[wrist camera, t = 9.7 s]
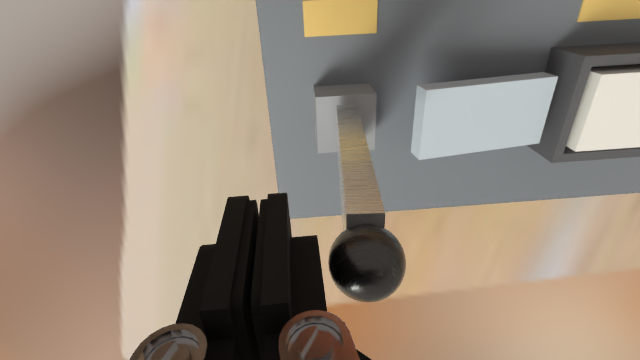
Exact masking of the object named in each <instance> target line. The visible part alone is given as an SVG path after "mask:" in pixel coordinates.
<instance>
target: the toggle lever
mask: <svg viewBox="0 0 640 360" xmlns="http://www.w3.org/2000/svg"><path fill="white" fill-rule="evenodd" d="M336 115H337V155H338V168H339V182H340V196H341V210H342V223H343V232H342V233H341V234H340V235H339V236H338V237H337V238H336V240H335V241H334V243H333V245H332V247H331V250H330V254H329V271H330V274H331V277H332V279H333V281H334V283H335V285H336V286H337V287H338V288H339V290H340V291H341V292H343V293H344V294H345V295H346V296H348V297H350V298H352V299H354V300H357V301H360V302H376V301H380V300H383V299H385V298H387V297H388V296H390V295H391V294H392V293H394V292H395V291H396V290H397V288H398V287H399V285H400V284H401V282H402V280H403V277H404V274H405V269H406V260H405V254H404V251H403V248H402V246H401V244H400V243H399V241H398V240H397V238H396V237H395V236H394V235H393V234H392V233H391V232H389V231H388V230H386V229H384V225H385V210H384V206H383V203H382V199H381V195H380V191H379V187H378V183H377V179H376V175H375V171H374V168H373V164H372V160H371V156H370V152H369V148H368V144H367V140H366V136H365V133H364V129H363V125H362V121H361V117H360V113H359V109H358V105H357V104H351V105H336Z"/></svg>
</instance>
